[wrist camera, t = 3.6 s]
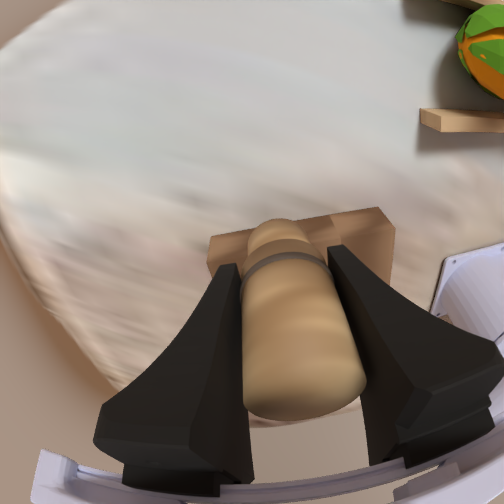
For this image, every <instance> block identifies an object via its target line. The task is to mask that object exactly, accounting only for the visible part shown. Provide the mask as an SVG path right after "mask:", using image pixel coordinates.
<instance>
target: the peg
mask: <svg viewBox="0 0 504 504" xmlns="http://www.w3.org/2000/svg"><path fill="white" fill-rule="evenodd" d="M240 303H241V320H242V371H243V403H244V406H245V407H246V409H247V410H248V411H249V412H251V413H252V414H254V415H256V416H259V417H262V418H265V419H270V420H277V421H297V420H305V419H311V418H316V417H320V416H323V415H326V414H329V413H332V412H334V411H337V410H339V409H341V408H343V407H345V406H346V405H348V404H350V403H351V402H352V401H354V400H355V399H356V398H357V397H358V396H359V395H360V394H361V393H362V392H363V390H364V389H365V386H366V382H367V380H366V375H365V372H364V369H363V366H362V363H361V360H360V357H359V354H358V350H357V347H356V344H355V341H354V338H353V336H352V333H351V330H350V327H349V324H348V321H347V318H346V315H345V312H344V310H343V307H342V304H341V301H340V299H339V296H338V293H337V290H336V288H335V281H334V278H333V276H332V273H331V271H330V269H329V268H328V266H327V264H326V261H325V259H324V257H323V255H322V254H321V252H320V251H319V250H318V249H317V248H316V247H314V246H313V245H311V244H310V241H309V239H308V236H307V233H306V231H305V230H304V229H303V227H302V226H300V225H299V224H298V223H296V222H294V221H292V220H288V219H272V220H268V221H266V222H264V223H262V224H260V225H259V226H258V227H257V228H255V229H254V231H253V232H252V233H251V235H250V237H249V240H248V257H247V259H246V260H245V262H244V264H243V267H242V270H241V284H240Z"/></svg>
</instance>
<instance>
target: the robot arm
mask: <svg viewBox="0 0 504 504" xmlns="http://www.w3.org/2000/svg"><path fill="white" fill-rule="evenodd" d="M327 259H328V268H329V269H330V271H331V273H332V276H333V278H334V281H335V288H336V290H337V293H338V296H339V299H340V301H341V304H342V307H343V310H344V312H345V315H346V318H347V321H348V324H349V327H350V330H351V333H352V336H353V338H354V341H355V344H356V347H357V350H358V354H359V357H360V360H361V363H362V366H363V369H364V372H365V375H366V380H367V382H366V386H365V389H364V390H363V392H362V393H361V394H360V400H361V405H362V411H363V417H364V424H365V430H366V438H367V447H368V455H369V466H370V467H366V468H362V469H358V470H354V471H349V472H344V473H339V474H334V475H329V476H323V477H317V478H311V479H304V480H295V481H287V482H276V483H262V484H250V483H251V482H252V481H253V480H254V479H255V478H254V470H253V462H252V453H251V442H250V432H249V418H248V410H247V409H246V407H245V406H244V403H243V371H242V320H241V303H240V284H241V278H240V274H239V271H238V267H237V264H236V263H230V264H224V265H220V266H219V267H218V269H217V271H216V273H215V275H214V277H213V278H212V280H211V282H210V284H209V286H208V288H207V290H206V291H205V293H204V295H203V296H202V298H201V300H200V302H199V303H198V305H197V307H196V308H195V310H194V311H193V313H192V314H191V316H190V317H189V319H188V320H187V322H186V323H185V325H184V326H183V328H182V329H181V330H180V332H179V333H178V334H177V336H176V337H175V338H174V340H173V341H172V342H171V343H170V345H169V346H168V347H167V348H166V349H165V350H164V351H163V352H162V353H161V355H160V356H159V357H158V358H157V359H156V360H155V361H154V362H153V363H152V364H151V365H150V366H149V367H148V368H147V369H146V370H145V371H144V372H143V373H142V374H141V375H140V376H138V377H137V378H136V379H135V380H134V381H133V382H131V383H130V384H129V385H128V386H127V387H125V388H124V389H123V390H122V391H120V392H119V393H117V394H116V395H115V396H113V397H112V398H111V399H109V400H108V401H107V402H105V403H104V404H103V405H102V407H101V410H100V414H99V417H98V421H97V425H96V429H95V434H94V438H93V443H94V445H95V446H96V447H97V448H98V449H99V450H101V451H102V452H104V453H106V454H107V455H109V456H111V457H113V458H114V459H116V460H118V461H120V462H122V463H124V469H123V474H117V473H113V472H108V471H104V470H100V469H96V468H92V467H88V466H84V465H80V464H77V462H75V461H73V460H72V459H70V458H68V457H65V456H63V455H60V454H57V453H54V452H51V451H48V450H46V449H41V452H40V456H39V460H38V464H37V468H36V473H35V477H34V483H33V487H32V493H31V497H30V500H31V502H33V503H35V504H187V503H196V504H278V503H289V502H298V501H306V500H313V499H320V498H326V497H332V496H337V495H342V494H347V493H351V492H356V491H360V490H364V489H368V488H372V487H376V486H379V485H383V484H386V483H390V482H393V481H396V480H399V479H402V478H405V477H408V476H411V475H414V474H417V473H419V472H422V471H425V470H427V469H430V468H432V467H435V466H437V465H439V466H438V468H437V469H435V470H433V471H431V472H428V473H426V474H424V475H421V476H419V477H417V478H414V479H412V480H409V481H408V483H406V484H404V485H403V486H400V487H398V488H396V489H394V490H393V495H394V502H391V503H388V504H486V503H488V502H489V501H491V500H492V499H494V498H495V497H496V496H498V495H499V494H501V493H502V492H503V491H504V242H503V243H500V244H496V245H493V246H489V247H485V248H481V249H478V250H474V251H470V252H466V253H462V254H458V255H454V256H450V257H447V258H446V259H445V261H444V264H443V268H442V272H441V276H440V280H439V284H438V288H437V291H436V295H435V298H434V302H433V305H432V308H431V312H430V313H429V312H427V311H425V310H424V309H422V308H420V307H419V306H417V305H416V304H414V303H413V302H411V301H410V300H408V299H407V298H405V297H404V296H402V295H401V294H400V293H398V292H397V291H396V290H394V289H393V288H392V287H390V286H389V285H388V284H387V283H385V282H384V281H383V280H382V279H381V278H379V277H378V276H377V275H376V274H375V273H374V272H373V271H371V270H370V269H369V268H368V267H367V266H366V265H365V264H364V263H363V262H362V261H360V260H359V259H358V258H357V257H356V256H355V255H354V254H353V253H352V252H351V251H350V250H349V249H348V248H347V247H346V246H345V245H343V244H341V245H335V246H329V247H327ZM444 315H448V316H449V318H450V320H451V321H452V323H453V325H452V324H449V323H447V322H445V321H444V320H442V319H440V318H438V317H441V316H444Z"/></svg>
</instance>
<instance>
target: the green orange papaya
mask: <svg viewBox="0 0 504 504" xmlns="http://www.w3.org/2000/svg"><path fill="white" fill-rule="evenodd" d="M455 38H456V40H457V41H458V47H459V50H458V52H457V53H458V55H459V58H460V61H461V62H462V64H463V66H464V67H465V68H466V70H467V71H468V73H469V75H470V76H471V78H472V79H473V80H474V81H475V82H476V83H477V84H478V85H479V86H480V87H481V88H482V89H483V90H484V91H485V92H487V93H489V94H491V95H493V96H495V97H496V98H498V99H502V100H504V5H502V4H490V5H485V6H484V7H482V8H480V9H479V10H477V11H476V12H474V13H473V14H471V15H469V17H468V18H467V20H466V21H465V23H464V24H463V26H462V27H461V29H460V30H459V32H458V33H457V35H456V36H455Z"/></svg>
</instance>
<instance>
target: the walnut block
mask: <svg viewBox="0 0 504 504" xmlns="http://www.w3.org/2000/svg"><path fill="white" fill-rule="evenodd" d="M294 222H296V223H298V224H299V225H300V226H302V227H303V229H304V230H305V231H306V233H307V236H308V239H309V241H310V244H311V245H313V246H314V247H316V248H317V249H318V250H319V251H320V252H321V254H322V255H323V257H324V259H325V261H326V264H327V266H328V259H327V247H329V246H335V245H341V244H343V245H345V246H346V247H347V248H348V249H349V250H350V251H351V252H352V253H353V254H354V255H355V256H356V257H357V258H358V259H359V260H360V261H362V262H363V263H364V264H365V265H366V266H367V267H368V268H369V269H370V270H371V271H373V272H374V273H375V274H376V275H377V276H378V277H379V278H381V279H382V280H383V281H384V282H385V283H387V284H388V285H390V277H391V269H392V260H393V250H394V239H395V227H394V226H393V225H392V223H391V222H390V221H389V220H388V218H387V217H386V216H385V215H384V213H383V212H382V211H381V210H380V208H379V207H373V208H367V209H361V210H355V211H349V212H343V213H337V214H331V215H325V216H320V217H314V218H308V219H303V220H297V221H294ZM254 229H255V228H253V229H248V230H242V231H237V232H232V233H227V234H221V235H216V236H211V239H210V245H209V251H208V257H207V265H208V268H209V271H210V273H211V276H212V278H213V277H214V275H215V273H216V271H217V269H218V267H219V266H220V265H224V264H230V263H236V264H237V267H238V271H239V274H240V278H241V270H242V267H243V264H244V262H245V260H246V259H247V257H248V240H249V237H250V235H251V233H252V232H253V231H254Z"/></svg>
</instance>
